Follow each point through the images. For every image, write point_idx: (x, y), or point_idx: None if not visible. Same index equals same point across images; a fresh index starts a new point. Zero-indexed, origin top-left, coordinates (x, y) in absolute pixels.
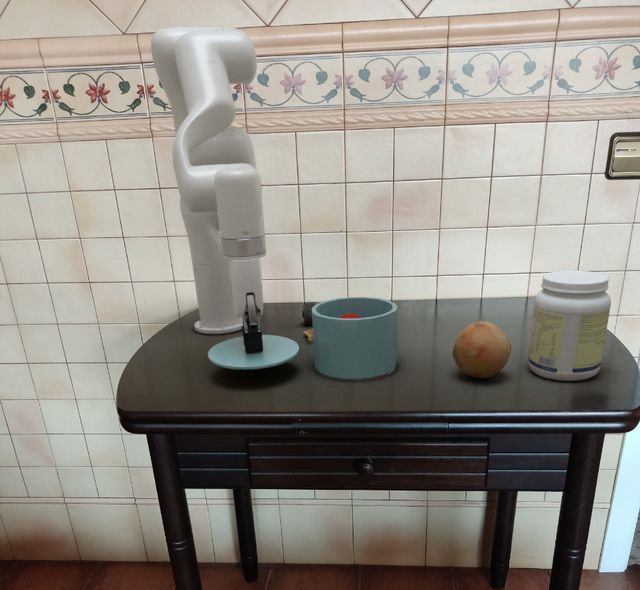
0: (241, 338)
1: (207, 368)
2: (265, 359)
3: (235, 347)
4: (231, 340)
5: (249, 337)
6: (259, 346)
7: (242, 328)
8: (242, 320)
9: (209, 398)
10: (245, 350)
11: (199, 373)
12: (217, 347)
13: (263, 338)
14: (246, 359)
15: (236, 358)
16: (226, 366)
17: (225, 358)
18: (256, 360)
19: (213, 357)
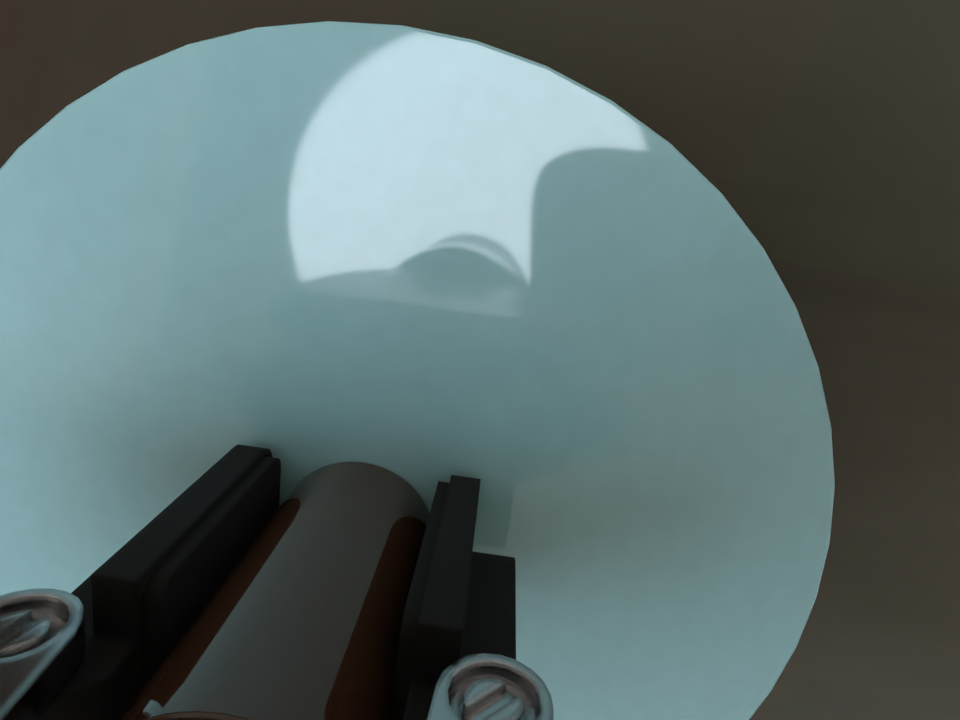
0: (767, 503)
1: (766, 106)
2: (64, 560)
3: (506, 382)
4: (763, 391)
5: (78, 591)
6: None
7: (422, 602)
8: (538, 712)
9: (99, 12)
10: (249, 451)
11: (681, 16)
12: (603, 188)
13: (644, 687)
14: (106, 407)
15: (166, 321)
16: (2, 179)
17: (201, 209)
18: (56, 484)
19: (278, 79)
